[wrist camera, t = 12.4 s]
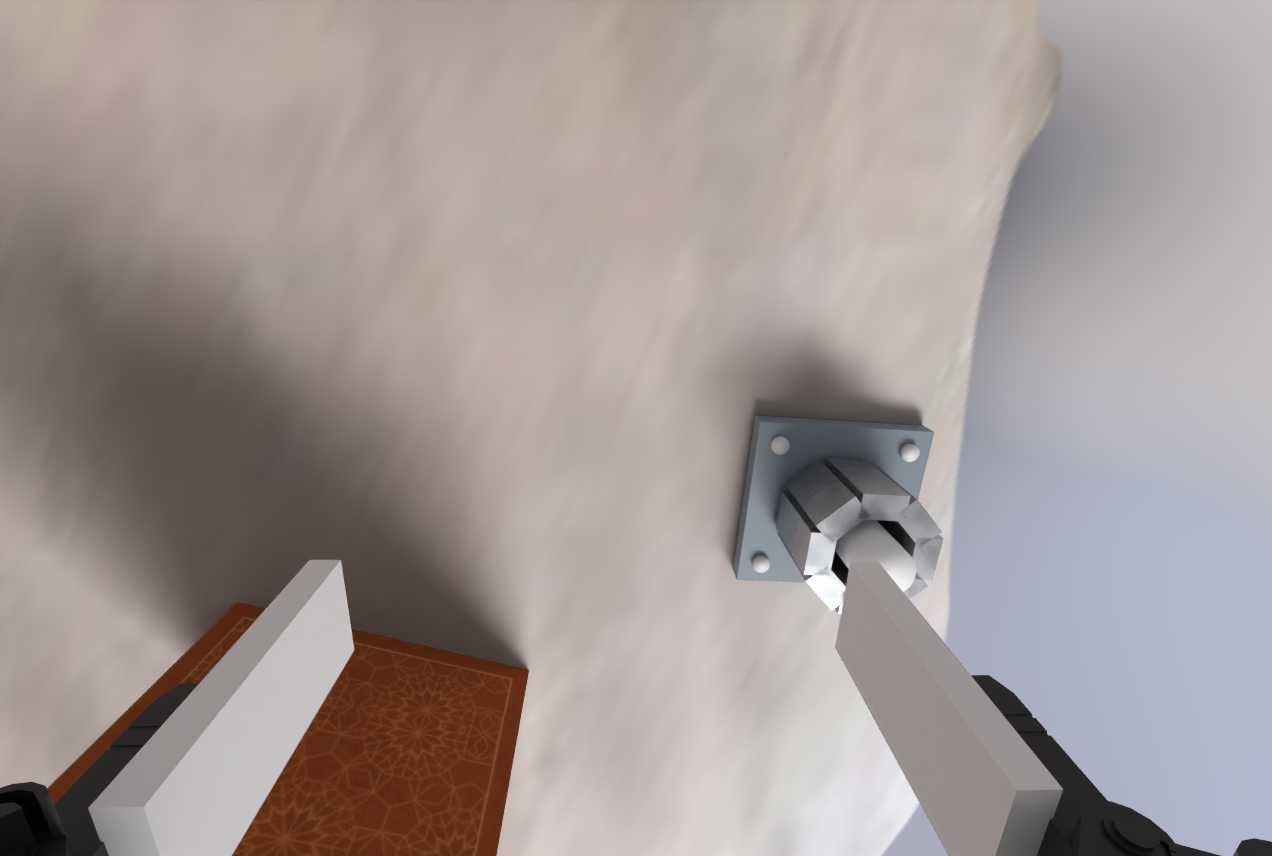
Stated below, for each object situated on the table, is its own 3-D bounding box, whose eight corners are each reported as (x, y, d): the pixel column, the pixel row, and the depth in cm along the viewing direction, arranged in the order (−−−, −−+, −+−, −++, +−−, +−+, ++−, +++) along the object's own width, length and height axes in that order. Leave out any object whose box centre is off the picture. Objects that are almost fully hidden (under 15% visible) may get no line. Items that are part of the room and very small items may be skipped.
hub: (787, 454, 39) (819, 491, 33) (903, 461, 39) (953, 498, 34) (770, 560, 41) (796, 612, 36) (879, 565, 42) (922, 616, 36)
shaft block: (754, 415, 40) (801, 469, 31) (922, 425, 41) (1018, 481, 31) (732, 568, 44) (768, 659, 34) (887, 575, 45) (963, 665, 35)
